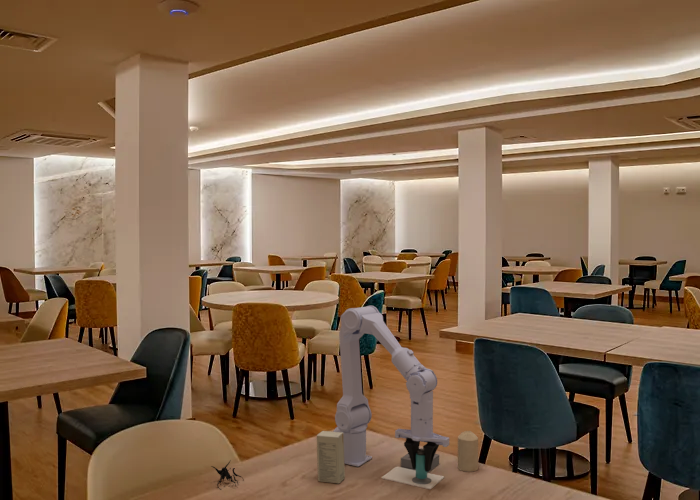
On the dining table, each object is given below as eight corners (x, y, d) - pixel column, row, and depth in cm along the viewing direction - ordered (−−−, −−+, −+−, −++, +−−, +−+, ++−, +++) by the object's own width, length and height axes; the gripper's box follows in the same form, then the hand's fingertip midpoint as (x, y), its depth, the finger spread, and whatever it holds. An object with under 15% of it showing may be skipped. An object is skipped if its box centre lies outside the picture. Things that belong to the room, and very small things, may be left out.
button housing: (400, 467, 173) (400, 458, 173) (413, 458, 179) (413, 449, 179) (427, 473, 168) (427, 463, 168) (439, 463, 175) (439, 454, 175)
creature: (248, 487, 162) (231, 472, 168) (251, 468, 161) (233, 454, 167) (223, 496, 157) (206, 481, 162) (226, 477, 156) (208, 462, 161)
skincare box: (345, 478, 165) (345, 432, 165) (339, 484, 161) (339, 437, 161) (322, 475, 167) (322, 429, 167) (316, 481, 163) (316, 434, 163)
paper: (381, 478, 165) (381, 476, 165) (396, 467, 173) (396, 465, 173) (430, 489, 158) (430, 488, 158) (444, 477, 165) (444, 476, 165)
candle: (478, 472, 169) (478, 435, 169) (457, 471, 170) (457, 434, 170) (478, 465, 174) (478, 429, 174) (457, 463, 175) (458, 428, 175)
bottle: (413, 477, 162) (413, 450, 162) (418, 473, 165) (419, 447, 165) (424, 479, 161) (424, 452, 160) (429, 476, 163) (429, 449, 163)
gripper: (389, 416, 163) (389, 468, 163) (441, 425, 155) (441, 479, 156) (401, 410, 169) (401, 460, 169) (452, 418, 161) (452, 470, 162)
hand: (421, 469), depth 163 cm, fingers closed on bottle, 3 cm apart
